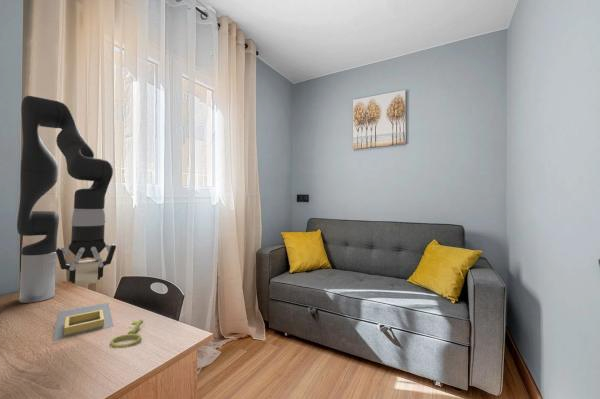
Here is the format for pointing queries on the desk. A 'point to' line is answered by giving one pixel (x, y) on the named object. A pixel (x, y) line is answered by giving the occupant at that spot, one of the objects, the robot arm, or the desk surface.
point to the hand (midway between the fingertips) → (86, 280)
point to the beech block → (86, 272)
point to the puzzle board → (82, 321)
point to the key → (128, 336)
